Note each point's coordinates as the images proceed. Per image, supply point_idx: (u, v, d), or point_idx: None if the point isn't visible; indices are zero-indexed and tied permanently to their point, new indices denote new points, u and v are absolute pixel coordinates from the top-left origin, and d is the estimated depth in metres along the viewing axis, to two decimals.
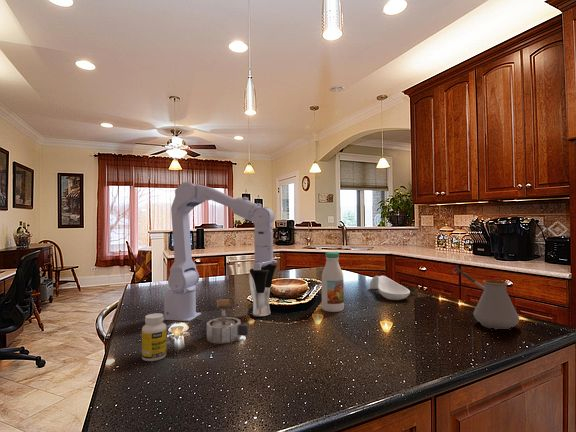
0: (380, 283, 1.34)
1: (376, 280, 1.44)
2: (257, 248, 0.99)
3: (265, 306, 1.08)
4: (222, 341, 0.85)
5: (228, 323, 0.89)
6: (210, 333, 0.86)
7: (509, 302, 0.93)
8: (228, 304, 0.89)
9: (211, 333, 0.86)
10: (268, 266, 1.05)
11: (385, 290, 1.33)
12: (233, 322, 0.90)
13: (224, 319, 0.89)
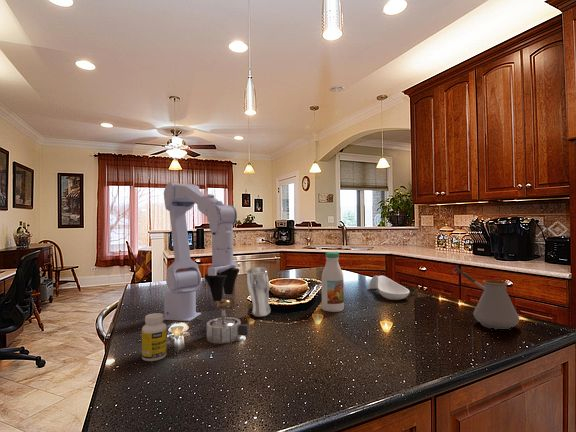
0: (380, 283, 1.35)
1: (375, 280, 1.44)
2: (214, 250, 0.89)
3: (264, 307, 1.07)
4: (222, 341, 0.85)
5: (228, 323, 0.89)
6: (210, 333, 0.86)
7: (509, 302, 0.93)
8: (228, 304, 0.89)
9: (211, 333, 0.86)
10: (229, 270, 0.94)
11: (385, 290, 1.33)
12: (233, 322, 0.90)
13: (224, 319, 0.89)
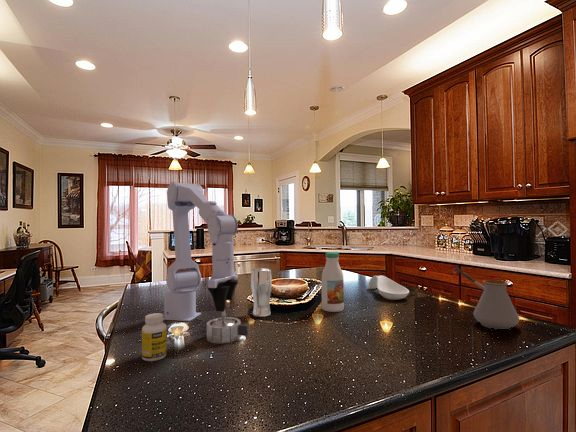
0: (379, 283, 1.35)
1: (375, 280, 1.44)
2: (215, 261, 0.87)
3: (265, 307, 1.08)
4: (222, 341, 0.85)
5: (228, 323, 0.89)
6: (210, 333, 0.86)
7: (509, 302, 0.93)
8: (228, 304, 0.89)
9: (211, 333, 0.86)
10: (227, 282, 0.91)
11: (384, 290, 1.34)
12: (233, 322, 0.90)
13: (224, 319, 0.89)
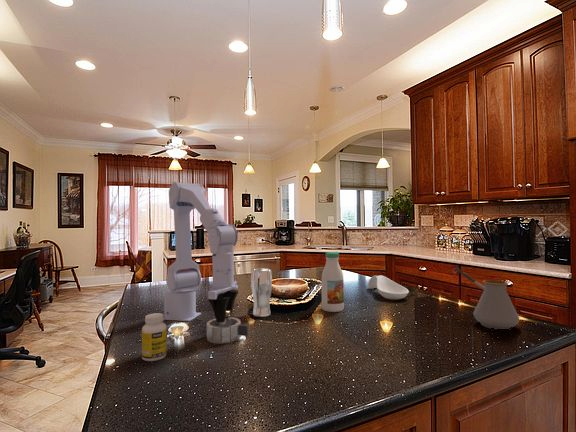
0: (379, 283, 1.35)
1: (374, 280, 1.44)
2: (215, 272, 0.87)
3: (265, 307, 1.08)
4: (222, 341, 0.85)
5: None
6: (210, 333, 0.86)
7: (509, 302, 0.93)
8: (228, 315, 0.89)
9: (211, 333, 0.86)
10: (227, 293, 0.91)
11: (384, 290, 1.34)
12: None
13: None
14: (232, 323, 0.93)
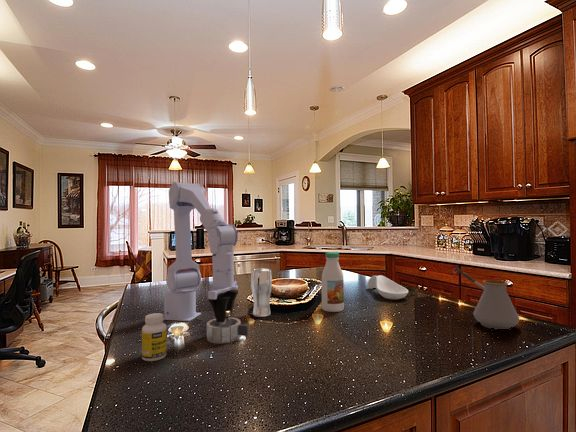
0: (378, 283, 1.35)
1: (374, 280, 1.45)
2: (215, 272, 0.87)
3: (265, 307, 1.08)
4: (222, 341, 0.85)
5: None
6: (210, 333, 0.86)
7: (509, 302, 0.93)
8: (228, 315, 0.89)
9: (211, 333, 0.86)
10: (227, 293, 0.91)
11: (383, 290, 1.34)
12: None
13: None
14: (232, 323, 0.93)
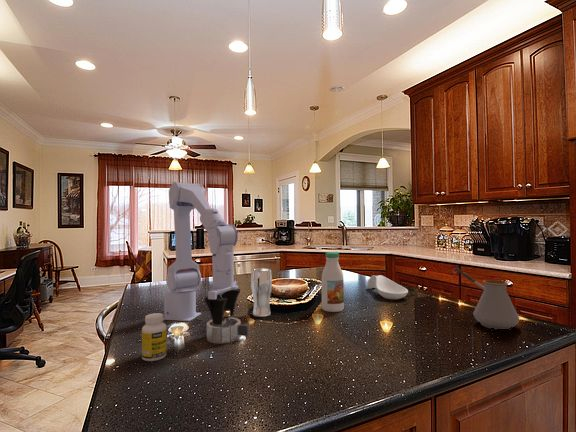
0: (378, 283, 1.35)
1: (373, 280, 1.45)
2: (215, 272, 0.87)
3: (265, 307, 1.08)
4: (222, 341, 0.85)
5: None
6: (210, 333, 0.86)
7: (509, 302, 0.93)
8: (228, 315, 0.89)
9: (211, 333, 0.86)
10: (230, 291, 0.93)
11: (383, 290, 1.34)
12: None
13: None
14: (232, 323, 0.93)
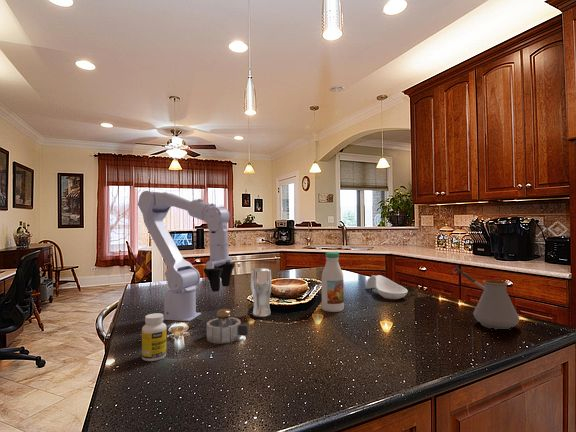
0: (378, 282, 1.36)
1: (373, 280, 1.45)
2: (211, 247, 1.00)
3: (265, 307, 1.08)
4: (222, 341, 0.85)
5: None
6: (210, 333, 0.86)
7: (509, 302, 0.93)
8: (228, 315, 0.89)
9: (211, 333, 0.86)
10: (225, 265, 1.06)
11: (383, 289, 1.34)
12: None
13: None
14: (232, 323, 0.93)
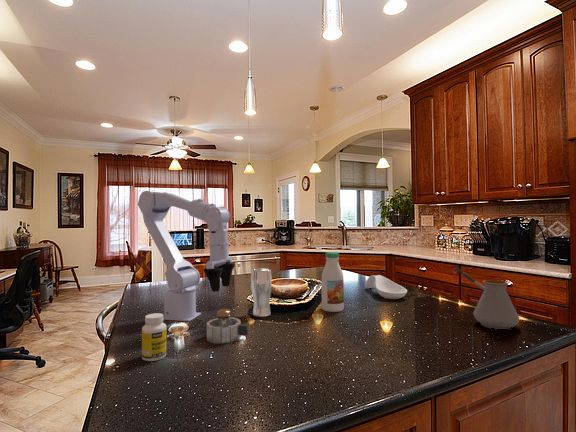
0: (377, 282, 1.36)
1: (372, 279, 1.45)
2: (211, 247, 1.00)
3: (265, 307, 1.08)
4: (222, 341, 0.85)
5: None
6: (210, 333, 0.86)
7: (509, 302, 0.93)
8: (228, 315, 0.89)
9: (211, 333, 0.86)
10: (225, 265, 1.06)
11: (382, 289, 1.35)
12: None
13: None
14: (232, 323, 0.93)
